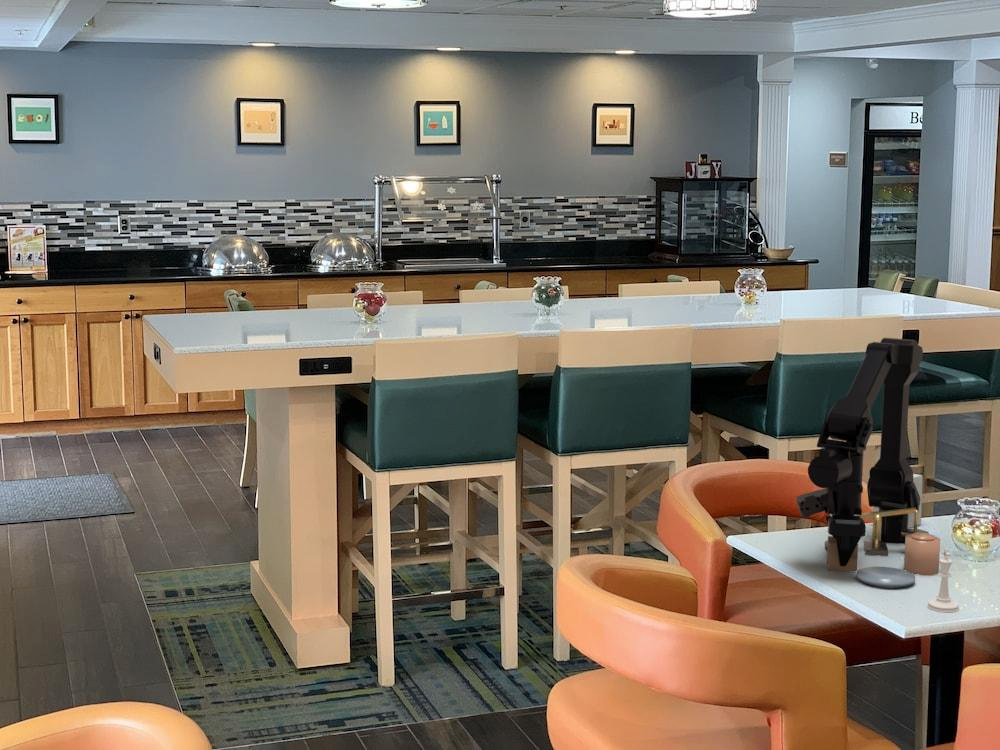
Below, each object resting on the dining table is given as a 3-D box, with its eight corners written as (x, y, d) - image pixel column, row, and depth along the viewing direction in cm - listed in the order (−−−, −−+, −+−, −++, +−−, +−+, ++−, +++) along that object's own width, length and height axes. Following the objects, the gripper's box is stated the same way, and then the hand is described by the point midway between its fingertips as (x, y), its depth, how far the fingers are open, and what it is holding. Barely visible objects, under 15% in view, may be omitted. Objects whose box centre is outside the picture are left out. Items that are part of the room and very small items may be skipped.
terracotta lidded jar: (902, 564, 238) (903, 530, 237) (936, 566, 237) (938, 532, 236) (905, 574, 232) (907, 539, 231) (940, 576, 231) (942, 541, 230)
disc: (853, 570, 234) (854, 565, 234) (911, 574, 232) (911, 568, 232) (858, 587, 224) (858, 581, 224) (918, 591, 222) (918, 585, 222)
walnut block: (826, 562, 239) (828, 536, 239) (854, 564, 238) (856, 537, 238) (828, 570, 234) (829, 543, 234) (856, 572, 233) (858, 545, 233)
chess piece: (938, 613, 211) (942, 554, 210) (921, 604, 216) (924, 546, 214) (965, 611, 212) (968, 552, 211) (947, 601, 217) (950, 543, 216)
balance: (823, 544, 251) (825, 499, 250) (925, 549, 248) (928, 504, 246) (825, 552, 246) (827, 507, 244) (929, 558, 242) (932, 512, 241)
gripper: (798, 464, 244) (795, 545, 247) (801, 487, 226) (798, 573, 229) (859, 467, 242) (855, 548, 245) (867, 490, 224) (863, 577, 227)
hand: (842, 561), depth 236 cm, fingers closed on walnut block, 5 cm apart
